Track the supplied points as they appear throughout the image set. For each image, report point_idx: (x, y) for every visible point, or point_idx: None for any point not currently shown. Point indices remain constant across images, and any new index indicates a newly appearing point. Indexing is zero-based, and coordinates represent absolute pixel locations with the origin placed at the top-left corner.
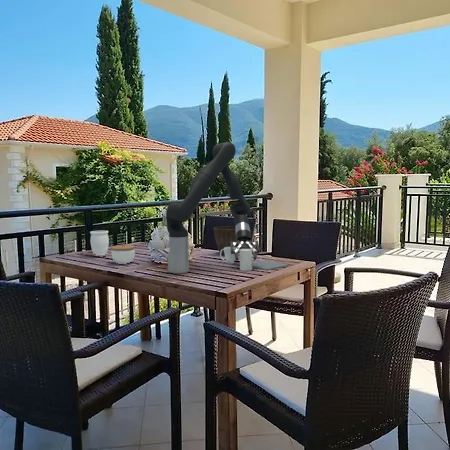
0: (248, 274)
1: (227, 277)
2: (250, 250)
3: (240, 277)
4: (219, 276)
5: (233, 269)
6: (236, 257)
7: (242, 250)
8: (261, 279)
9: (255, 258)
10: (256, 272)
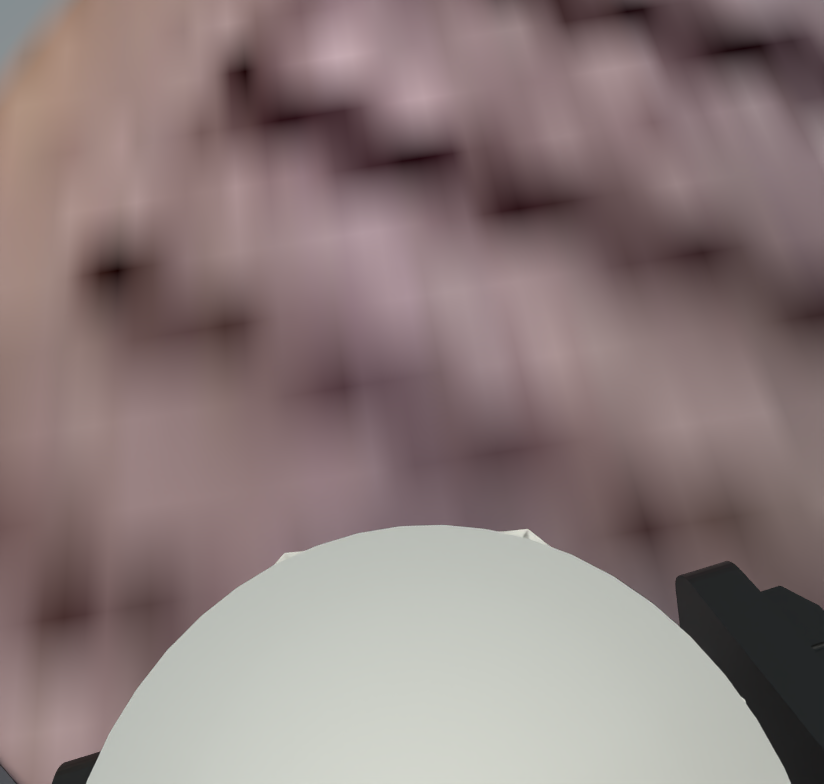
0: (333, 301)
1: (644, 57)
2: (142, 695)
3: (437, 89)
4: (801, 92)
5: None
6: (771, 613)
7: (572, 555)
8: (109, 36)
9: (85, 762)
10: (189, 489)
